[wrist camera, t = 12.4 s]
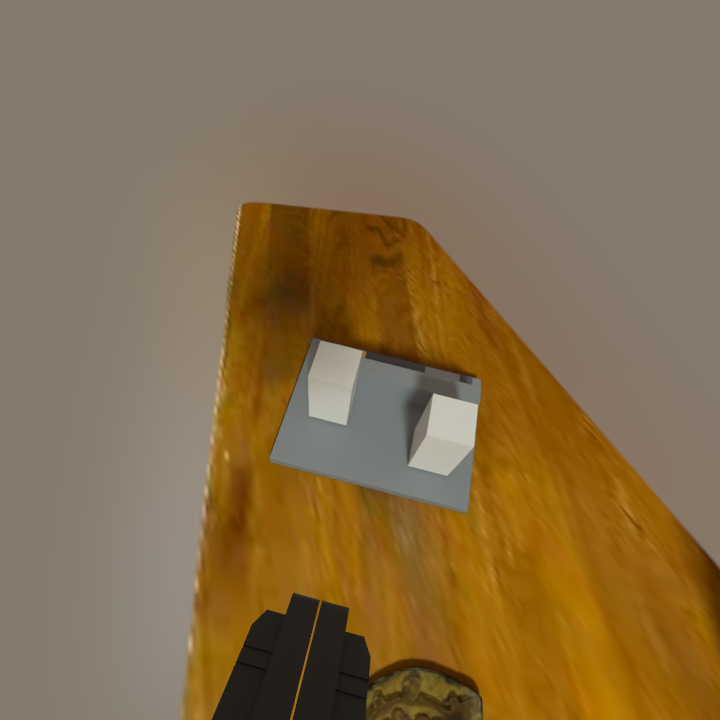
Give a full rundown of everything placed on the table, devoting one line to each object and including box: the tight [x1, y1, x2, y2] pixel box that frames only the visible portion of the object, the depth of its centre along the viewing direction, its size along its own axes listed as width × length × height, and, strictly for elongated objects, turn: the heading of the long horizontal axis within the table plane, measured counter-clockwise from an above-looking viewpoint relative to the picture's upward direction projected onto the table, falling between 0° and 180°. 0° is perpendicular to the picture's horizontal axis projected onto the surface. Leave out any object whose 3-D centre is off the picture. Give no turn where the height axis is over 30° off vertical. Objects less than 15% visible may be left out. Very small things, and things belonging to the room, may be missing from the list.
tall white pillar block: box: [308, 341, 363, 425], centre depth 42 cm, size 4×4×8 cm
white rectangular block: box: [408, 393, 478, 476], centre depth 40 cm, size 4×4×8 cm
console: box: [269, 338, 481, 513], centre depth 44 cm, size 15×20×5 cm
